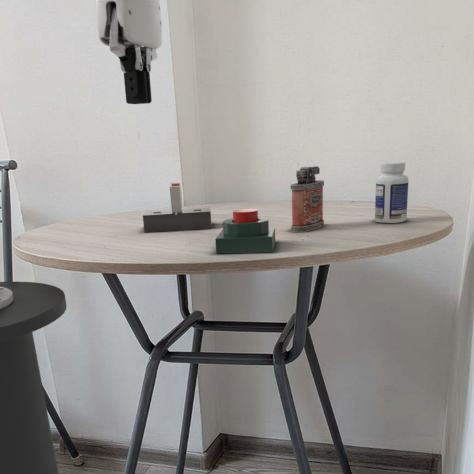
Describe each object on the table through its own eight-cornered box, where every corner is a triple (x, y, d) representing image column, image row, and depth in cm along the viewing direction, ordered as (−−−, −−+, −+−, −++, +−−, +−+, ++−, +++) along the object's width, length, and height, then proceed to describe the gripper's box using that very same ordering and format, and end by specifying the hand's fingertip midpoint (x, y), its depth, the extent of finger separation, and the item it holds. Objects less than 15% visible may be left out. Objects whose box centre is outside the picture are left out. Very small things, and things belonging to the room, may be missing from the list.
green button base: (216, 254, 83) (214, 225, 81) (223, 243, 90) (222, 217, 89) (272, 252, 82) (271, 223, 80) (275, 241, 89) (274, 215, 88)
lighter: (304, 232, 95) (303, 168, 92) (286, 231, 97) (285, 168, 94) (328, 224, 101) (328, 164, 98) (311, 223, 103) (311, 164, 100)
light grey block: (181, 212, 104) (179, 184, 102) (171, 212, 104) (169, 185, 102) (182, 209, 108) (180, 182, 106) (173, 209, 108) (170, 183, 106)
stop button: (232, 225, 83) (231, 212, 82) (234, 221, 86) (234, 209, 86) (257, 224, 83) (256, 211, 82) (259, 220, 86) (258, 208, 85)
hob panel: (211, 229, 103) (210, 211, 102) (143, 233, 103) (141, 215, 101) (211, 222, 111) (210, 205, 110) (148, 226, 111) (146, 209, 110)
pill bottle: (409, 219, 103) (412, 161, 99) (403, 223, 98) (406, 163, 95) (378, 218, 105) (380, 162, 102) (371, 223, 101) (373, 164, 97)
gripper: (131, -32, 84) (142, 106, 90) (67, -61, 71) (85, 102, 77) (177, -39, 81) (186, 104, 87) (120, -71, 68) (135, 99, 74)
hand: (139, 103), depth 82 cm, fingers closed
